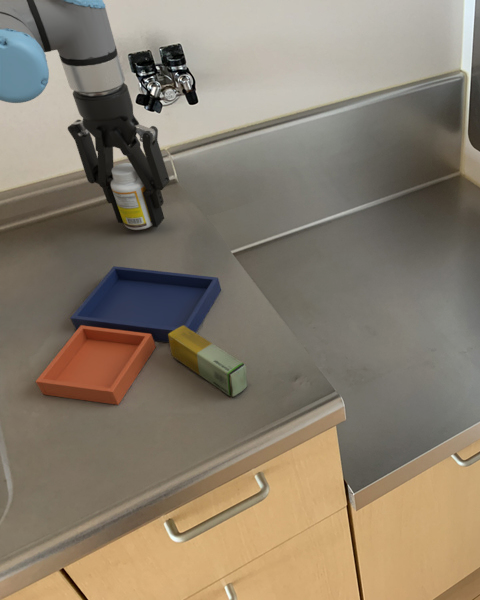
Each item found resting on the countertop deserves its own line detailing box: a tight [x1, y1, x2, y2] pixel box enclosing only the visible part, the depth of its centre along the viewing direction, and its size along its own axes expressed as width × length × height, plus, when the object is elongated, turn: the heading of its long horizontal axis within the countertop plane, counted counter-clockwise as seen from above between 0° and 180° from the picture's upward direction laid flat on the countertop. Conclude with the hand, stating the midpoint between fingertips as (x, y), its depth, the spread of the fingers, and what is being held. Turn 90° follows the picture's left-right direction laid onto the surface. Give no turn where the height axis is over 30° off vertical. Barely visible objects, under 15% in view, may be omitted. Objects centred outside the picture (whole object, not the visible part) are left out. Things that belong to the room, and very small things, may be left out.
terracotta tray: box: [35, 325, 157, 406], centre depth 79 cm, size 10×10×2 cm
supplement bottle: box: [111, 162, 153, 231], centre depth 101 cm, size 6×6×10 cm
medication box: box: [168, 326, 248, 398], centre depth 78 cm, size 12×3×4 cm, turn 54°
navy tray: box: [70, 265, 222, 343], centre depth 88 cm, size 17×12×2 cm
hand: (141, 220), depth 104 cm, fingers closed on supplement bottle, 6 cm apart
